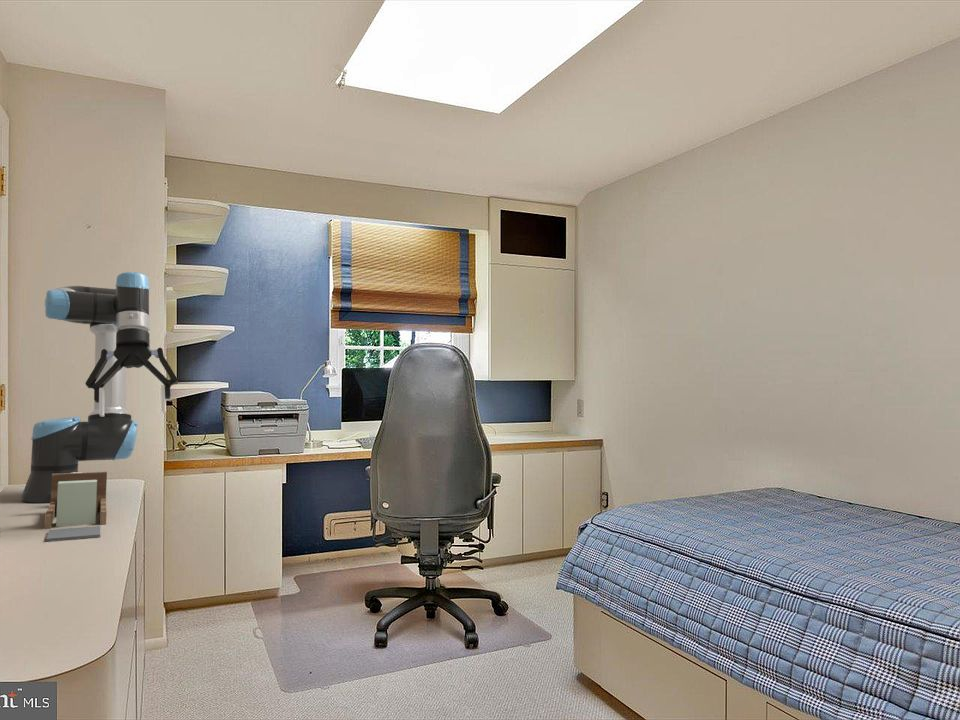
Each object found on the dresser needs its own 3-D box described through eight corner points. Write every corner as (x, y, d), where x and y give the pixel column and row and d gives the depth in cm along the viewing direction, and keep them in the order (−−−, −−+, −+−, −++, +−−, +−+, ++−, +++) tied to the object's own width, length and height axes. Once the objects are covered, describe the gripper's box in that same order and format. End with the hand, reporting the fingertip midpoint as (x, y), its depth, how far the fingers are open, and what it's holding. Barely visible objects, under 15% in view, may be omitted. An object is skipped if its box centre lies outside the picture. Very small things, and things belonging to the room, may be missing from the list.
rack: (50, 512, 173) (52, 473, 173) (105, 509, 179) (106, 471, 179) (44, 528, 154) (46, 485, 154) (106, 524, 160) (107, 482, 161)
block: (57, 523, 160) (58, 481, 161) (95, 520, 164) (97, 479, 165) (56, 526, 157) (57, 483, 157) (95, 523, 161) (97, 481, 161)
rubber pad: (49, 532, 150) (49, 529, 150) (100, 528, 155) (100, 525, 155) (46, 541, 142) (46, 538, 142) (100, 537, 147) (100, 534, 147)
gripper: (73, 327, 161) (71, 413, 156) (185, 325, 170) (187, 406, 165) (79, 337, 168) (77, 420, 162) (187, 335, 177) (189, 413, 171)
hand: (133, 413), depth 164 cm, fingers open, 13 cm apart
